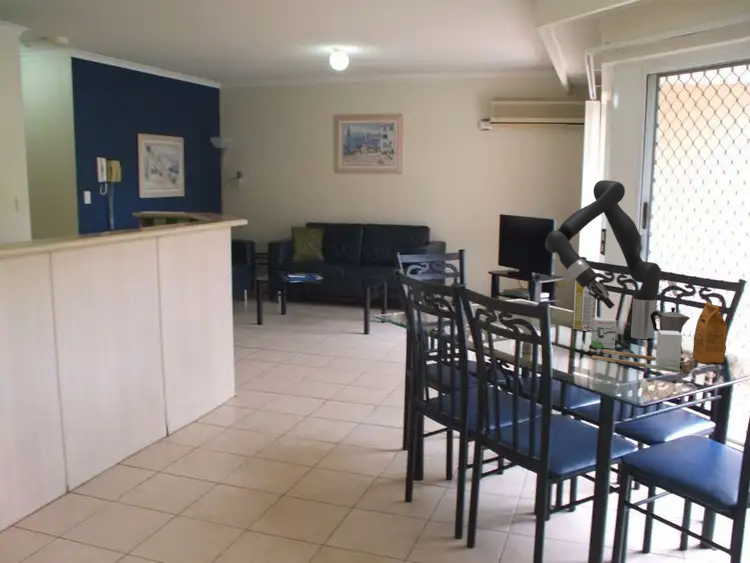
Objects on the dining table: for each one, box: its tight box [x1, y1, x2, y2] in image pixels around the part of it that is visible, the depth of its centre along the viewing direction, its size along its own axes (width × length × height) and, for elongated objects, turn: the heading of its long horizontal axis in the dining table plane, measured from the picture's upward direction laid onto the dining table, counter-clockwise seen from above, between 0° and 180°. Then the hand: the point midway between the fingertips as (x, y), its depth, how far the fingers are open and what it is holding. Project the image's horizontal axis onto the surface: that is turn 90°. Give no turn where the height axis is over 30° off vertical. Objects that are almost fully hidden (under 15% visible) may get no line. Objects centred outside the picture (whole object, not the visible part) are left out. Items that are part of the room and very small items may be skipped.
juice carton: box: [572, 280, 597, 332], centre depth 309 cm, size 9×8×24 cm
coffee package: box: [692, 301, 728, 364], centre depth 257 cm, size 10×12×22 cm
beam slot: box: [590, 348, 696, 375], centre depth 255 cm, size 14×34×3 cm, turn 53°
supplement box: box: [655, 329, 683, 369], centre depth 250 cm, size 7×7×13 cm
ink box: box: [590, 316, 617, 349], centre depth 278 cm, size 9×5×12 cm, turn 85°
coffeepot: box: [650, 306, 691, 354], centre depth 271 cm, size 15×9×18 cm, turn 45°
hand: (612, 307), depth 260 cm, fingers closed
